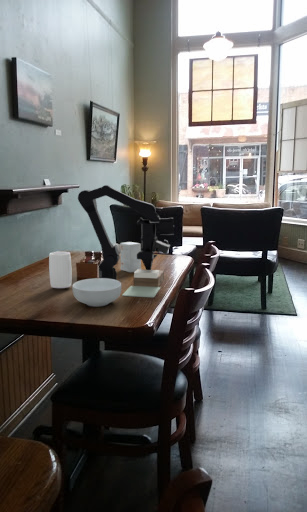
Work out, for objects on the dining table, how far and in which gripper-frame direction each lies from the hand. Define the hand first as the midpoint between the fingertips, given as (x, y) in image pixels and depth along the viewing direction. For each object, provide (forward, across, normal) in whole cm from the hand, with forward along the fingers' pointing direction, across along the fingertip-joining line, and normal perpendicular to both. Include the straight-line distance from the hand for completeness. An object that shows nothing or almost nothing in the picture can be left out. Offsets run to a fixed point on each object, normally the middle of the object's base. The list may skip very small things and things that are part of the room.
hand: (149, 272), depth 174 cm
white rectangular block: (0, -4, 0) cm, 4 cm away
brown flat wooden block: (+4, +1, 0) cm, 5 cm away
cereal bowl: (+5, -31, +12) cm, 33 cm away
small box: (+5, +23, +13) cm, 27 cm away
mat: (+4, -13, 0) cm, 14 cm away
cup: (+5, -14, +33) cm, 36 cm away
